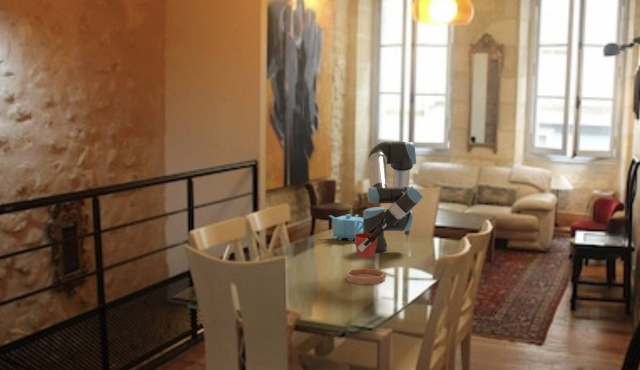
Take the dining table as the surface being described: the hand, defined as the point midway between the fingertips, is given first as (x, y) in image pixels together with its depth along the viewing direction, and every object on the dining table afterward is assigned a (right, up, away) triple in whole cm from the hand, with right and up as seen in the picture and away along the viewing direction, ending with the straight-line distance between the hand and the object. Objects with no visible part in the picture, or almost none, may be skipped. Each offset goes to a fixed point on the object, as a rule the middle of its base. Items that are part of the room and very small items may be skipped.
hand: (359, 247), depth 315 cm
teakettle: (-2, -4, +91) cm, 92 cm away
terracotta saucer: (+3, -15, +2) cm, 15 cm away
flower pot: (+3, -4, 0) cm, 5 cm away
